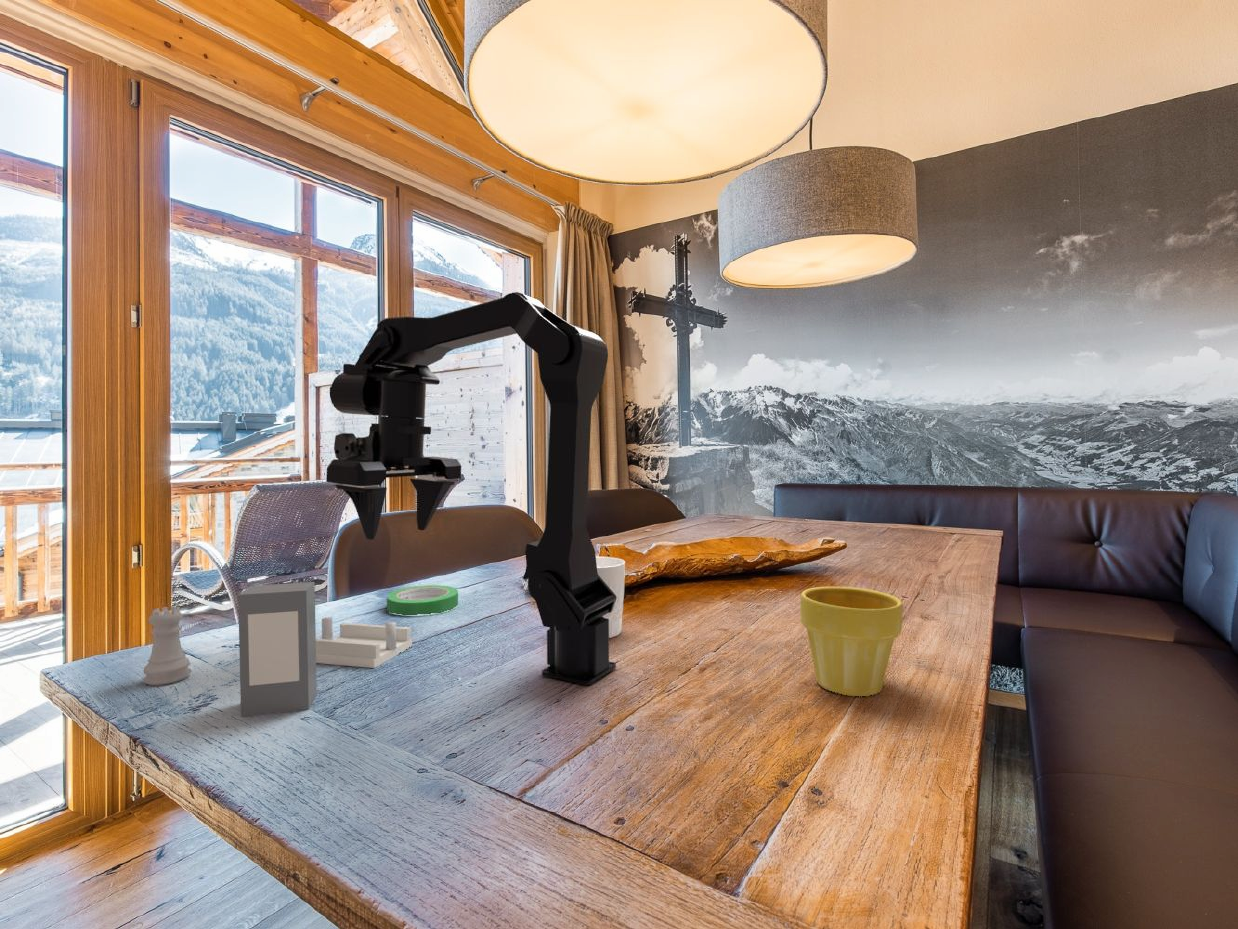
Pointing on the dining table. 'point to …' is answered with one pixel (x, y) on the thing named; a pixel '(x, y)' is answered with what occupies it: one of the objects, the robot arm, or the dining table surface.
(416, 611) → the tape roll
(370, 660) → the tray
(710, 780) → the dining table surface
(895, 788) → the dining table surface
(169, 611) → the rook chess piece
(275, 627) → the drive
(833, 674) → the plant pot
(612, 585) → the white cup
